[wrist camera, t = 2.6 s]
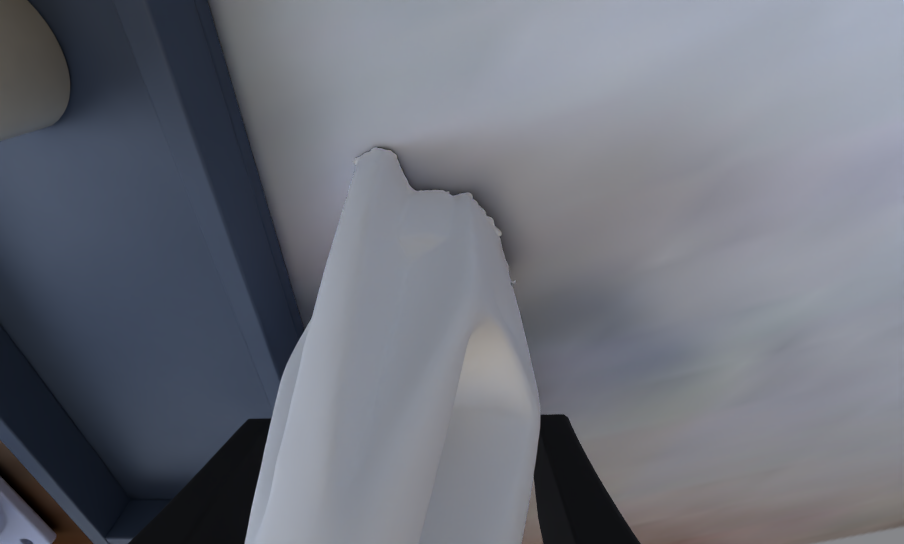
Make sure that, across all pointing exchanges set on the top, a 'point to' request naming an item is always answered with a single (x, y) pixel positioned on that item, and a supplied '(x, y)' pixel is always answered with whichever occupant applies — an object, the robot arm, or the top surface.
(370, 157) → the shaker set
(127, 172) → the tray
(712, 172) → the top surface
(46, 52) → the bottle
